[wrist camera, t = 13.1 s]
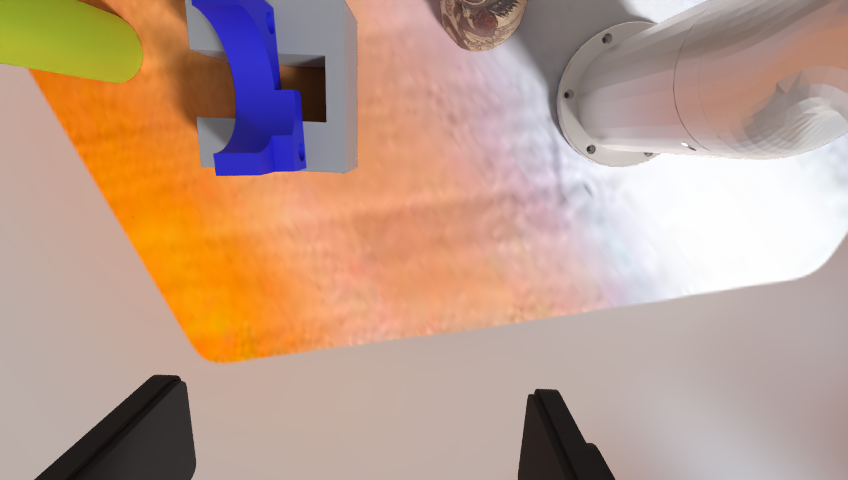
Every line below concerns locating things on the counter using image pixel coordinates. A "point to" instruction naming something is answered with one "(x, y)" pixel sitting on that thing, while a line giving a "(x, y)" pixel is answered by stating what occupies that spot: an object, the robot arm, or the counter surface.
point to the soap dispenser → (68, 39)
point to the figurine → (481, 21)
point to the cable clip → (256, 92)
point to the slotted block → (304, 47)
